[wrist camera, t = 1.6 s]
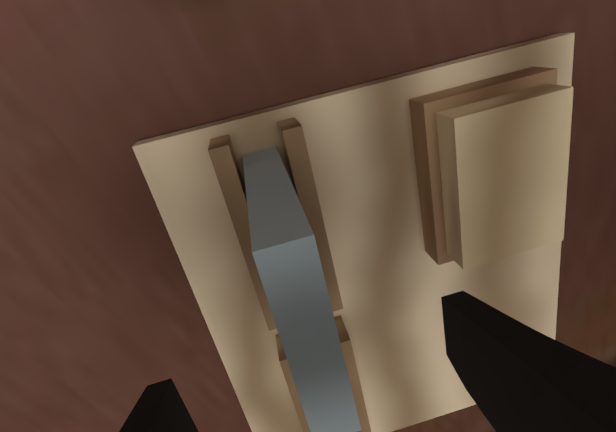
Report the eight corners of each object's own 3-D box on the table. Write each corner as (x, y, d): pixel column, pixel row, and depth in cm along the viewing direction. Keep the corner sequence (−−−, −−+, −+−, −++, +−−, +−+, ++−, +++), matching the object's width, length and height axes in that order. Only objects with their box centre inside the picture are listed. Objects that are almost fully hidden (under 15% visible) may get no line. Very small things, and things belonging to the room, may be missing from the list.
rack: (558, 33, 19) (613, 31, 16) (542, 368, 28) (575, 403, 25) (137, 141, 17) (119, 159, 15) (267, 456, 27) (271, 503, 24)
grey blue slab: (275, 145, 17) (313, 234, 9) (309, 276, 20) (361, 430, 12) (242, 154, 17) (251, 252, 9) (281, 284, 20) (314, 445, 12)
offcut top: (546, 83, 17) (573, 86, 16) (540, 226, 20) (563, 239, 18) (435, 112, 17) (453, 118, 15) (447, 254, 19) (463, 269, 18)
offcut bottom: (533, 66, 18) (557, 68, 17) (529, 220, 21) (549, 232, 20) (408, 99, 18) (423, 103, 16) (424, 251, 21) (438, 265, 20)
